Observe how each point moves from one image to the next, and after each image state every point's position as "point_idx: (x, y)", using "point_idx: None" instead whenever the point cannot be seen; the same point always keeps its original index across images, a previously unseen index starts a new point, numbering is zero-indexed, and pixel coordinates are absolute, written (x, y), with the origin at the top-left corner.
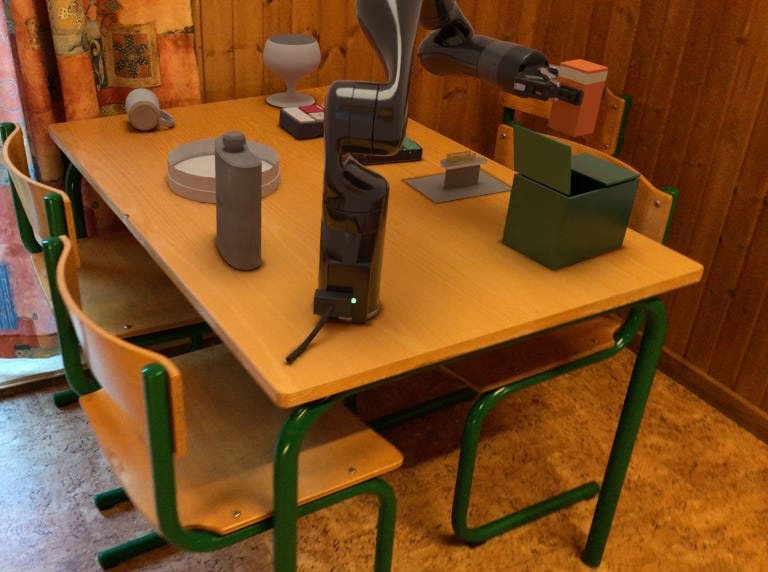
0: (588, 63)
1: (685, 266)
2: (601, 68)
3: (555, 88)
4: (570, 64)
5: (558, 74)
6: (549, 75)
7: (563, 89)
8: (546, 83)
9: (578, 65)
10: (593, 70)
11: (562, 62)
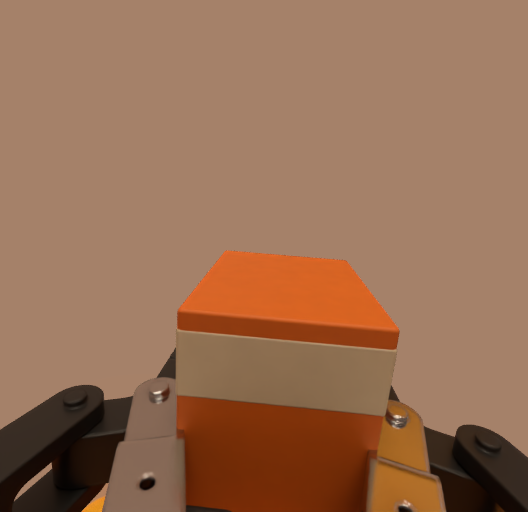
0: (242, 276)
1: (98, 507)
2: (262, 254)
3: (424, 428)
4: (359, 298)
5: (386, 405)
6: (419, 497)
7: (389, 397)
8: (498, 441)
9: (327, 282)
10: (316, 258)
11: (388, 323)
